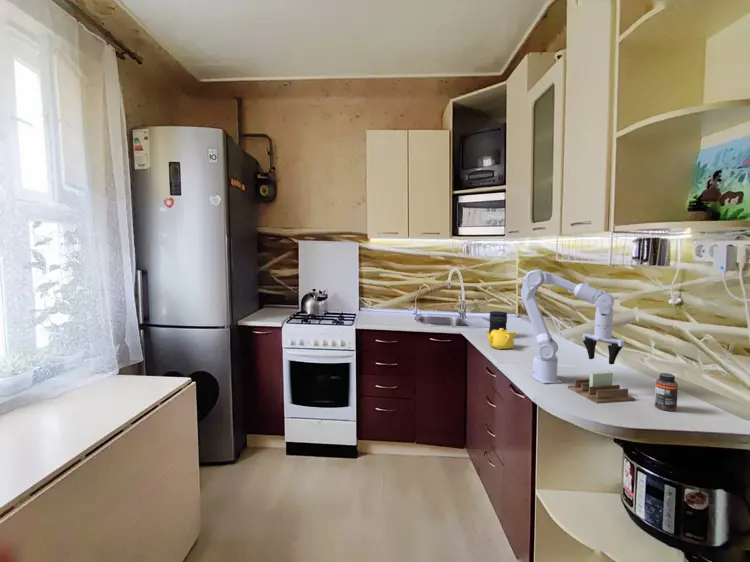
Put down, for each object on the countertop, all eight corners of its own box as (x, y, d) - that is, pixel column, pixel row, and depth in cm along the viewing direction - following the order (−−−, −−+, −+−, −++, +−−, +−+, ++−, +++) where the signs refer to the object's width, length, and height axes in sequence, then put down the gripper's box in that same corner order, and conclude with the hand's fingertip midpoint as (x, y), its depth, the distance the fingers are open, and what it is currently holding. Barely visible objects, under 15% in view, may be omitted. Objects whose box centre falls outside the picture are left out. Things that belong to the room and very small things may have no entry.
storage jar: (507, 340, 231) (508, 314, 230) (490, 339, 232) (491, 313, 231) (504, 336, 241) (505, 311, 240) (487, 335, 242) (488, 311, 241)
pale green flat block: (588, 391, 146) (589, 372, 146) (608, 390, 148) (609, 371, 147) (592, 393, 145) (593, 374, 144) (611, 392, 146) (612, 372, 146)
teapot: (508, 352, 204) (509, 332, 203) (483, 348, 211) (484, 329, 210) (516, 347, 215) (517, 328, 214) (492, 343, 222) (493, 325, 222)
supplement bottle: (667, 404, 137) (669, 371, 136) (681, 411, 131) (683, 377, 130) (649, 404, 137) (652, 371, 136) (663, 411, 131) (665, 377, 130)
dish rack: (567, 388, 152) (568, 378, 152) (603, 385, 155) (603, 376, 155) (596, 403, 138) (597, 392, 137) (634, 400, 140) (635, 390, 140)
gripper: (578, 322, 154) (576, 358, 155) (617, 329, 142) (614, 367, 143) (589, 321, 158) (587, 355, 159) (628, 327, 145) (626, 365, 146)
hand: (601, 361), depth 151 cm, fingers open, 7 cm apart
